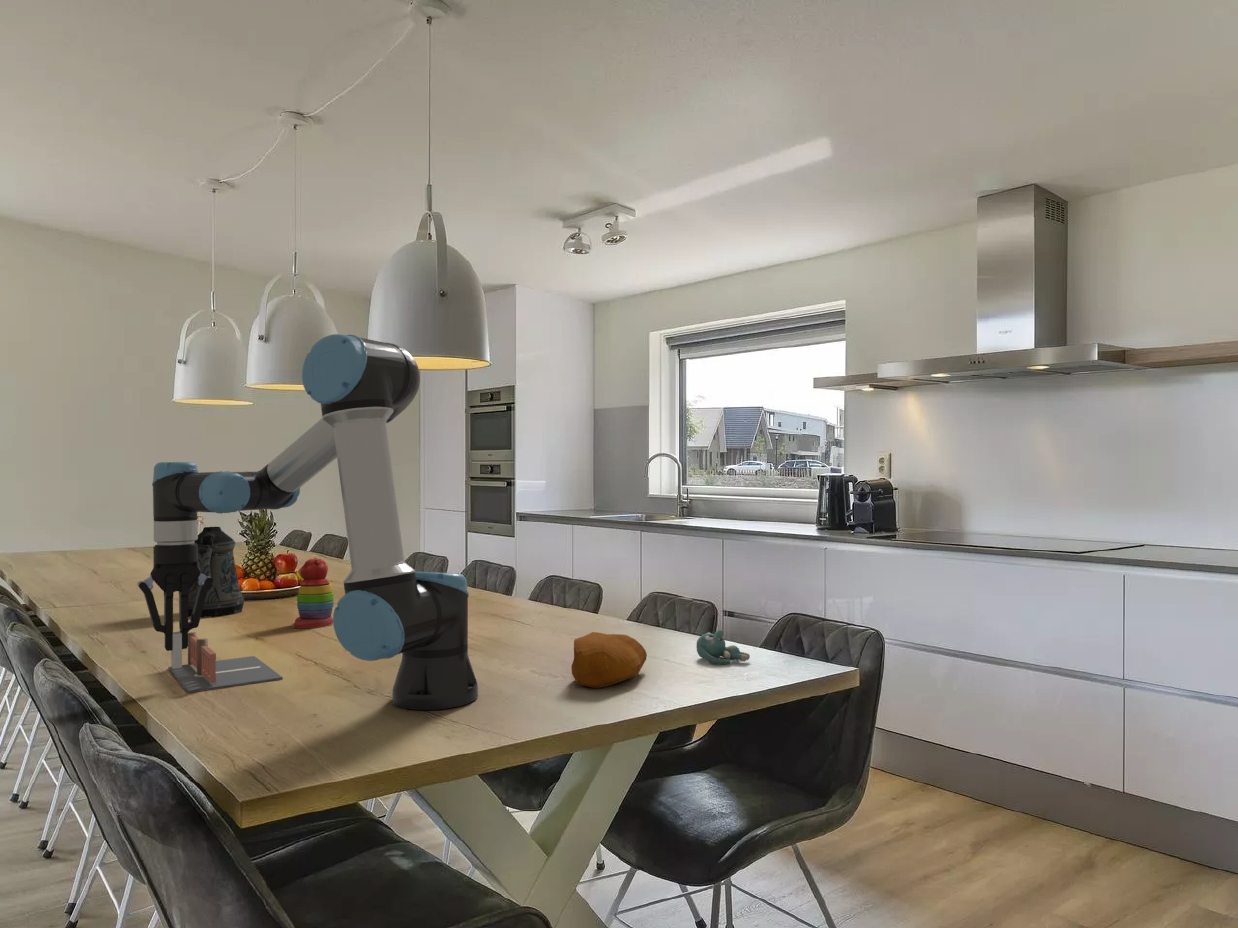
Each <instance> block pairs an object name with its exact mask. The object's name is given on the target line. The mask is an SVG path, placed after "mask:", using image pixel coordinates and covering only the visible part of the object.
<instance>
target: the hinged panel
mask: <svg viewBox="0 0 1238 928" xmlns="http://www.w3.org/2000/svg"><path fill="white" fill-rule="evenodd" d="M201 651H202V669H201V674H202V675H203V676H204V677H205V678H206V679H207V680H208V681H209V682H210V683H215V682H216V661H217V660H216V659H217V653H216V652H215V651H213V650H212V649H211V648H210V647H209V645H208V646H207V645H206V646H201Z"/></svg>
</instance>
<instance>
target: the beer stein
mask: <svg viewBox="0 0 1238 928" xmlns="http://www.w3.org/2000/svg"><path fill="white" fill-rule="evenodd" d="M194 542H195V543H196V544H197V545H198V566H199V568H200V570H201V573H202V574H204V575H206V576H209V577H211V578H213V583H212V584H211V585H210V587H209V588H208V590H207V594H206V598H205V602H204V606H203V610H202V614H201V618H217V617H223V616H224V617H225V616H226V617H227V616H231V615H236V614H237V615H238V614H240V613H242V612H243V609H244V603H245V597H244V596H243V594H242V593H243V592H242V590H241V586H240V583H239V578H238V572H237V567H236V562H235V556H234V549H235V546H236V541H235V539H234V538H232V537H231V536H229V534H227V533H225V531H224V530H222V528H221V527H220V526H205V527H203V529H202V531H201V532H200V533H198V539H197V540H196V541H194ZM198 581H199V578H198V579H197V580H196V581H195V583H194V584H193V585H192V587H191V588H190V589H189V590H188V591H189V595H188V618H191V616H192V612H193V608H194V604H195V600H196V596H197V592H198V589H199V586H200V585H199V584H198Z"/></svg>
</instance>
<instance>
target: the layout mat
mask: <svg viewBox="0 0 1238 928" xmlns="http://www.w3.org/2000/svg"><path fill="white" fill-rule="evenodd" d="M168 670H169V671H170V672H171V674H172V675H173V676H174V677H175V679H176V680H177V681H178V683H179V684H180V685H181V686H182V687H183V688H184V690H185V692H187V693H189V694H190V693H191V694H192V693H196V692H203V691H210V690H218V689H225V688H231V687H232V688H233V687H239V686H244V685H252V684H260V683H266V682H273V681H274V682H275V681H280V680H283V679H284V678H283V676H282V675H280V674H279V673H278V672H276V671H275V670H274V669H272V668H271V667H270V666H268V665H267V664H266V663H264V662H263V661H261V660H260V659H259V658H258V657H257V656H255V655H250V656H243V657H242V656H241V657H235V658H229V659H226V658H225V659H220V660H218V659H217V660H216V682H215V683H210V682H209V681H208V680H207V679H206V678H205V677H204V676H198V675H197V669H196V668H195V667H194V666H193V665H188V663H187V664H182V668H176V669H173V668H172V667H171V666H168Z"/></svg>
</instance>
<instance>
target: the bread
mask: <svg viewBox="0 0 1238 928" xmlns="http://www.w3.org/2000/svg"><path fill="white" fill-rule="evenodd" d="M647 655H648V654H647V650H646V649H645V647H644V646H643V645H642V643H640V642H639V641H638V640H636V639H635V638H633V637H631V636H629V635H627V634H618V633H611V634H609V633H608V634H606V633H602V632H594V631H593V632H590V633H588V634H585V635H584V636H583V635H582V636H580V637H578V638H575V639H574V640H573V661H572V663H571V667H570V668H571V675H572V676H573V678H574V681H576V682H577V684H579V685H581V686H583V687H588V688H592V689H601V688H606V687H610V686H613V685H615V684H619V683H620V682H624V681H625V680H629V679H633V678H634V677H635V676H636V675H638V674H639V673H640V672H641V670H642V668H643V666H644V664H645V662H646V660H647V657H648V656H647Z"/></svg>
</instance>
